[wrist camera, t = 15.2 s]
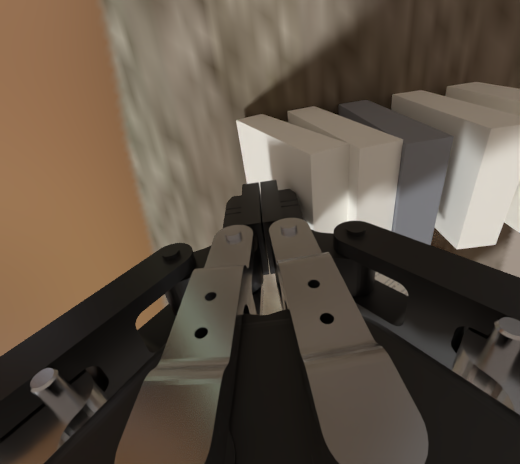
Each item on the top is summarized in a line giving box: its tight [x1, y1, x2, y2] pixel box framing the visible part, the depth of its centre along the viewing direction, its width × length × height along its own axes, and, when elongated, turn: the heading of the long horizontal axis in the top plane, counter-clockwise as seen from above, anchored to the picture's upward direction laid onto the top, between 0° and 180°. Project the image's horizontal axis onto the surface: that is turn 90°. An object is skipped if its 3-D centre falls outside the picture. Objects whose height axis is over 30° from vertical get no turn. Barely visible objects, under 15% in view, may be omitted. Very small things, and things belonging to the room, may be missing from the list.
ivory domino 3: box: [391, 90, 520, 249], centre depth 14 cm, size 5×2×8 cm, turn 8°
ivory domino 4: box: [445, 82, 520, 233], centre depth 14 cm, size 5×2×8 cm, turn 8°
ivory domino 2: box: [287, 106, 403, 231], centre depth 15 cm, size 5×2×8 cm, turn 8°
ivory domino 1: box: [236, 114, 350, 233], centre depth 15 cm, size 5×2×8 cm, turn 8°
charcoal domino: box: [339, 100, 454, 245], centre depth 14 cm, size 5×2×8 cm, turn 8°
